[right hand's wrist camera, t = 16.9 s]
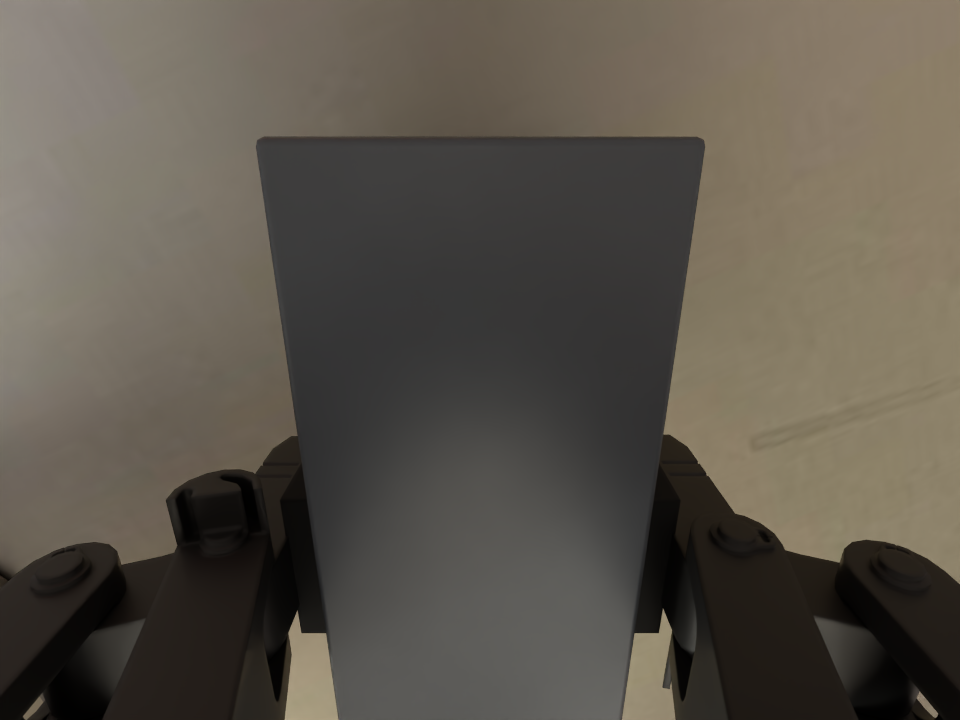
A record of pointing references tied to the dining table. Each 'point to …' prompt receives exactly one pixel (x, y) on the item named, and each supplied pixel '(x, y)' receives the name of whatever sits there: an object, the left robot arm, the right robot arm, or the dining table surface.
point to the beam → (480, 406)
